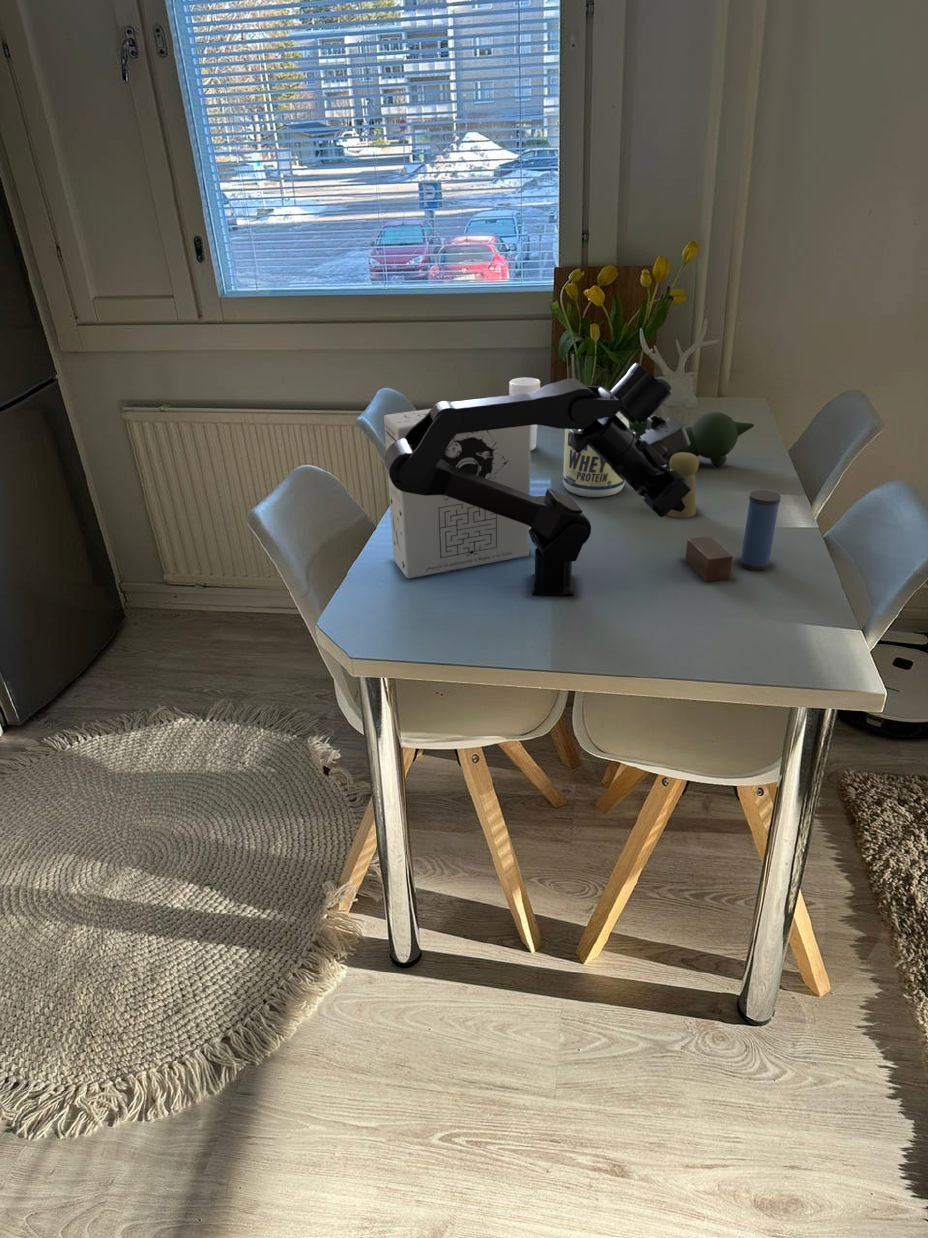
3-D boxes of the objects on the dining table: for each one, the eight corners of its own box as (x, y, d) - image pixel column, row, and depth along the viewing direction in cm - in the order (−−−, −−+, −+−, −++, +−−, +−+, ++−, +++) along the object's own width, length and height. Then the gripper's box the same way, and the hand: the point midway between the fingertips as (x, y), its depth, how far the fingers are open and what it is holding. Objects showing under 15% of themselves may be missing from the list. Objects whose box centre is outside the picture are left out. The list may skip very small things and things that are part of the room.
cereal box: (511, 539, 153) (512, 397, 141) (529, 556, 147) (531, 409, 135) (393, 560, 147) (383, 414, 134) (407, 579, 141) (397, 427, 128)
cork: (658, 514, 161) (663, 457, 156) (667, 503, 166) (673, 447, 161) (690, 519, 159) (697, 461, 153) (699, 508, 164) (706, 451, 158)
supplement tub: (556, 495, 171) (559, 410, 162) (570, 474, 181) (573, 392, 172) (618, 502, 167) (624, 414, 159) (629, 480, 177) (635, 397, 169)
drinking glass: (503, 446, 197) (503, 379, 190) (530, 441, 200) (531, 375, 192) (517, 455, 192) (518, 386, 184) (544, 450, 194) (546, 382, 187)
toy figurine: (628, 476, 184) (753, 471, 178) (626, 386, 175) (758, 378, 169) (630, 461, 192) (750, 456, 186) (628, 374, 183) (754, 366, 177)
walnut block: (705, 582, 138) (708, 559, 136) (685, 560, 144) (687, 538, 142) (729, 579, 138) (732, 556, 136) (707, 558, 145) (710, 535, 143)
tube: (717, 541, 136) (774, 486, 134) (704, 529, 140) (760, 476, 138) (759, 583, 142) (815, 531, 139) (745, 570, 146) (800, 520, 143)
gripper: (684, 423, 118) (750, 492, 125) (635, 387, 134) (695, 450, 141) (625, 483, 121) (692, 548, 128) (583, 442, 137) (645, 501, 144)
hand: (682, 508), depth 135 cm, fingers closed
